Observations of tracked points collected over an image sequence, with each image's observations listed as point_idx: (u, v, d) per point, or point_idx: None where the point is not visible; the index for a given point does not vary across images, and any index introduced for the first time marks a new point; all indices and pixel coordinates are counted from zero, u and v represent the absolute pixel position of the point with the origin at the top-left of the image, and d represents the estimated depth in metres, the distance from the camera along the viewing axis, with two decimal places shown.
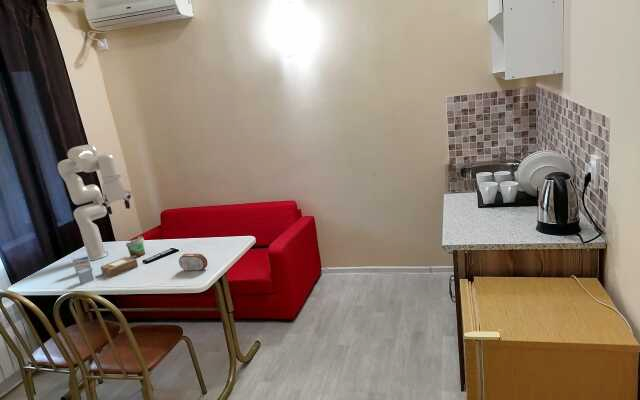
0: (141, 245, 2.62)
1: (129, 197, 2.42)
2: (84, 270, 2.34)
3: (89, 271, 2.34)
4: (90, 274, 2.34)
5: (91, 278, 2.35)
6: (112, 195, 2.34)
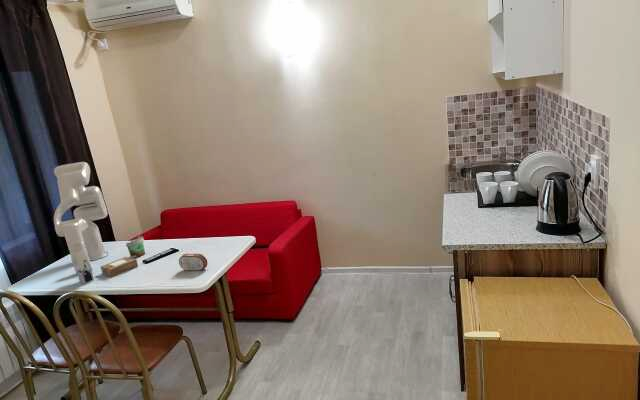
0: (141, 245, 2.62)
1: None
2: None
3: None
4: None
5: None
6: None
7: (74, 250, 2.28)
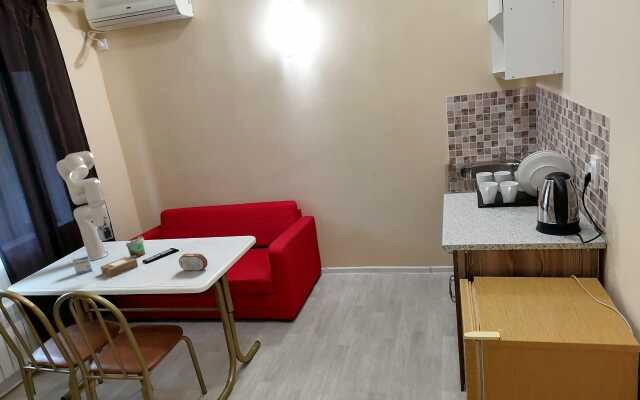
0: (141, 245, 2.62)
1: None
2: None
3: None
4: None
5: None
6: None
7: (94, 206, 2.31)
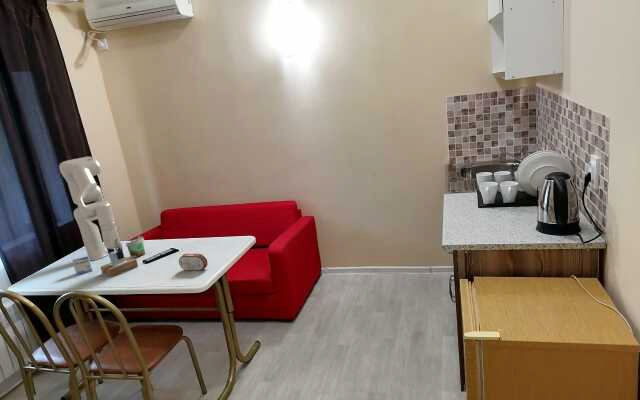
0: (141, 245, 2.62)
1: None
2: (115, 252, 2.42)
3: None
4: None
5: (122, 259, 2.43)
6: None
7: (106, 229, 2.35)
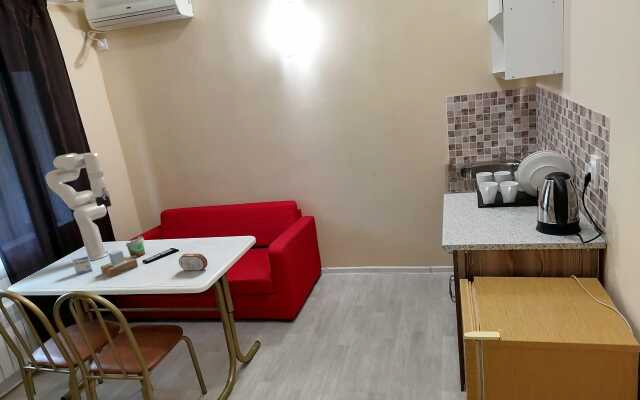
0: (141, 245, 2.62)
1: None
2: (115, 252, 2.42)
3: (120, 253, 2.42)
4: (121, 256, 2.42)
5: (122, 259, 2.43)
6: None
7: (94, 178, 2.46)
